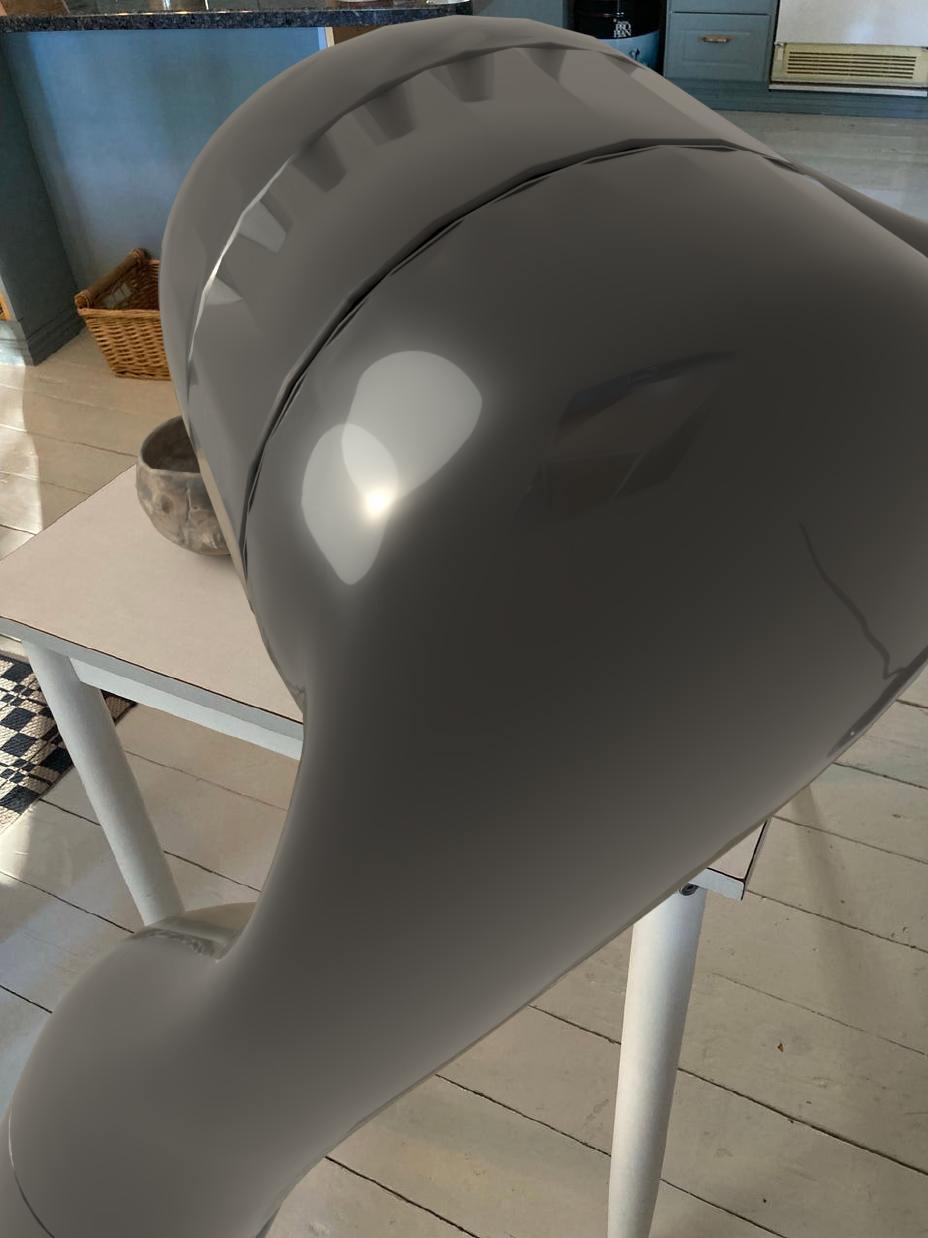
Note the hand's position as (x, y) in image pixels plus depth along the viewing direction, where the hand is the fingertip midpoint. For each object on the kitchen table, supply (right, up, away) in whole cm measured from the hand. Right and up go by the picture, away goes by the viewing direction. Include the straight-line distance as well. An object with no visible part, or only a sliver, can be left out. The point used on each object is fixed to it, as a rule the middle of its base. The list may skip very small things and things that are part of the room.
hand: (579, 681), depth 51 cm
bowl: (-26, +11, +39) cm, 48 cm away
